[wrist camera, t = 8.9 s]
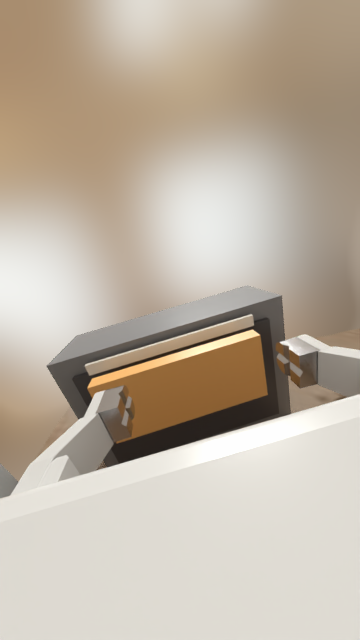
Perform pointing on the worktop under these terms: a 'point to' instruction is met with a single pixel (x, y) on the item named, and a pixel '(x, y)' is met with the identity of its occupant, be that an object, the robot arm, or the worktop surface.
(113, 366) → the grey rectangular box
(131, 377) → the panel
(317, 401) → the worktop surface
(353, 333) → the worktop surface
